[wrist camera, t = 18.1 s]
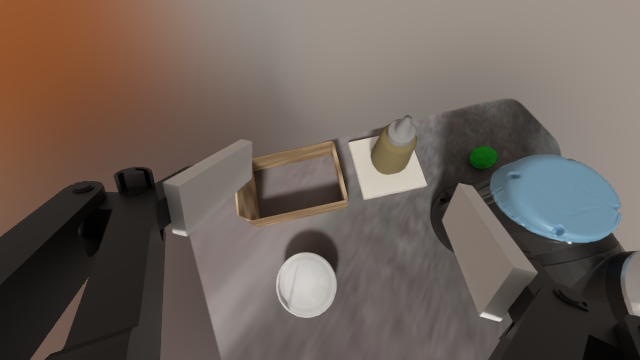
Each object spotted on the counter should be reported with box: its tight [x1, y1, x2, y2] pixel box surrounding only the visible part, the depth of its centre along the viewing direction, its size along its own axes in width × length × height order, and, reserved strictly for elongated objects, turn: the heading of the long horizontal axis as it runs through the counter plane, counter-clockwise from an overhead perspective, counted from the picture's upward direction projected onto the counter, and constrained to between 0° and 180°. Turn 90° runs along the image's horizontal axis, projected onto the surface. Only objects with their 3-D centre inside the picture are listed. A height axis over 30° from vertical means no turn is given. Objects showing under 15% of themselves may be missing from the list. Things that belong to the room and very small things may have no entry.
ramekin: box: [276, 252, 337, 318], centre depth 46 cm, size 11×11×5 cm
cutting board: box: [348, 136, 427, 200], centre depth 55 cm, size 14×14×1 cm
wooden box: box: [235, 141, 348, 227], centre depth 50 cm, size 14×20×12 cm
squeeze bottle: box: [370, 115, 417, 175], centre depth 46 cm, size 8×8×18 cm
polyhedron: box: [470, 146, 497, 169], centre depth 52 cm, size 5×5×5 cm
